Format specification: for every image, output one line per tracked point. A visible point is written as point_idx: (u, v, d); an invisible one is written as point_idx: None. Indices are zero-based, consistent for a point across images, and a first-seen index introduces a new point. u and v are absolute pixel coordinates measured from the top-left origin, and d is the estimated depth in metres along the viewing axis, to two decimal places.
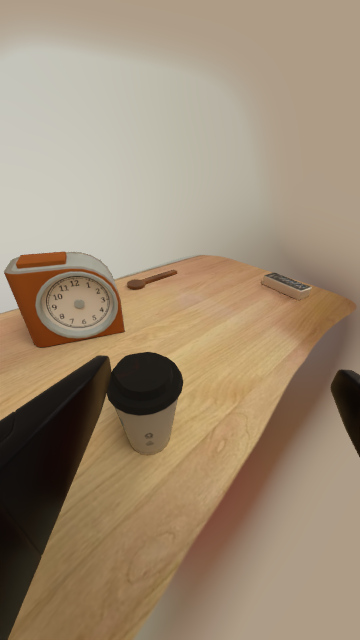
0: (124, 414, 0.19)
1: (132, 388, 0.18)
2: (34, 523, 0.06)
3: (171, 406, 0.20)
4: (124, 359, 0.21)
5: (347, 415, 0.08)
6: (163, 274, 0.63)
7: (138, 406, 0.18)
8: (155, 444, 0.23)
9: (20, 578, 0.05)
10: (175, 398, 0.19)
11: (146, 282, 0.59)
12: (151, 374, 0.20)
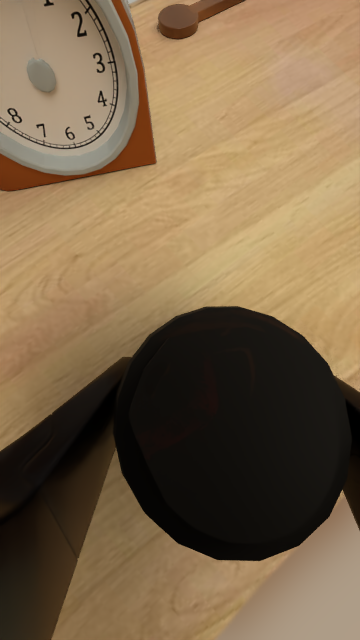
0: None
1: (197, 519, 0.05)
2: (73, 527, 0.06)
3: None
4: (164, 355, 0.06)
5: None
6: None
7: (213, 548, 0.06)
8: None
9: (61, 582, 0.05)
10: None
11: (201, 15, 0.26)
12: (265, 453, 0.05)
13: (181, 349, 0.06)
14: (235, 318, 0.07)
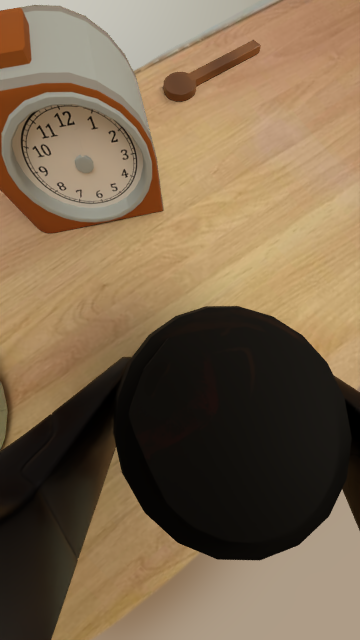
0: None
1: (198, 519, 0.05)
2: (73, 526, 0.06)
3: None
4: (164, 355, 0.06)
5: None
6: (232, 56, 0.32)
7: (213, 548, 0.06)
8: None
9: (61, 582, 0.05)
10: None
11: (199, 81, 0.31)
12: (265, 453, 0.05)
13: (181, 349, 0.06)
14: (235, 318, 0.07)
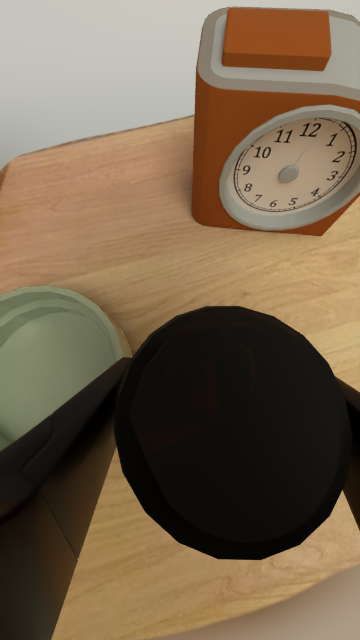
0: None
1: (199, 518, 0.05)
2: (73, 527, 0.06)
3: None
4: (165, 354, 0.06)
5: None
6: None
7: (213, 548, 0.06)
8: None
9: (61, 583, 0.05)
10: None
11: None
12: (266, 453, 0.05)
13: (182, 348, 0.06)
14: (236, 318, 0.07)
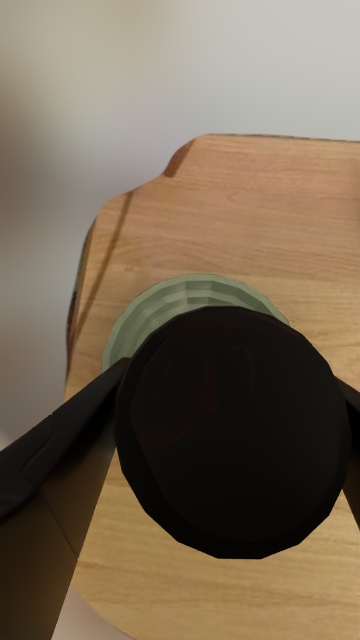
0: None
1: (198, 517, 0.05)
2: (73, 527, 0.06)
3: None
4: (164, 353, 0.06)
5: None
6: None
7: (213, 547, 0.06)
8: None
9: (61, 583, 0.05)
10: None
11: None
12: (265, 452, 0.05)
13: (181, 348, 0.06)
14: (235, 317, 0.07)
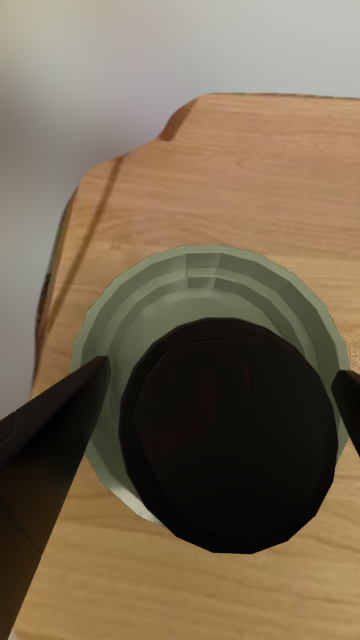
0: None
1: (195, 515, 0.05)
2: (34, 523, 0.06)
3: None
4: (167, 364, 0.06)
5: (347, 415, 0.08)
6: None
7: (209, 542, 0.06)
8: None
9: (20, 578, 0.05)
10: None
11: None
12: (258, 456, 0.06)
13: (182, 359, 0.07)
14: (233, 329, 0.08)
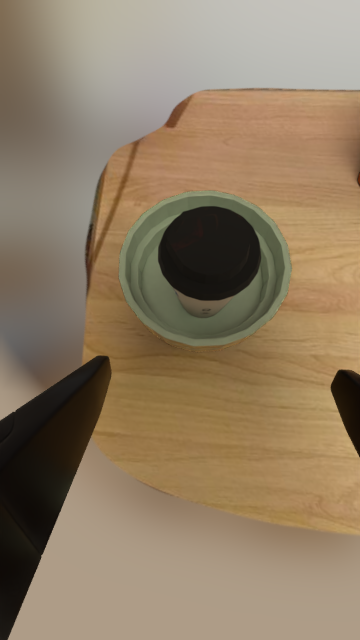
0: (182, 293, 0.16)
1: (195, 268, 0.13)
2: (34, 523, 0.06)
3: None
4: (181, 217, 0.14)
5: (347, 415, 0.08)
6: None
7: (201, 290, 0.14)
8: (210, 313, 0.21)
9: (20, 579, 0.05)
10: (249, 282, 0.15)
11: None
12: (221, 248, 0.14)
13: (188, 215, 0.14)
14: None
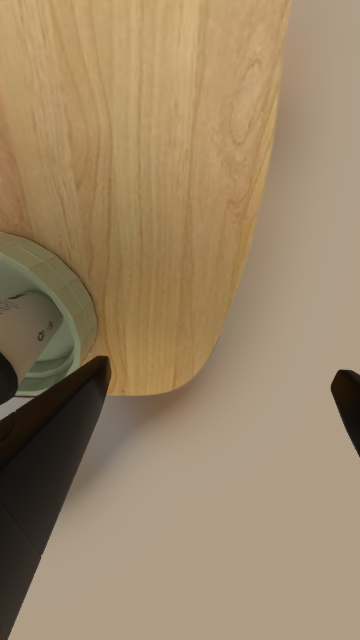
0: (20, 381, 0.17)
1: None
2: (34, 523, 0.06)
3: None
4: None
5: (347, 415, 0.08)
6: None
7: (5, 383, 0.15)
8: (50, 317, 0.21)
9: (20, 578, 0.05)
10: None
11: None
12: None
13: None
14: None
